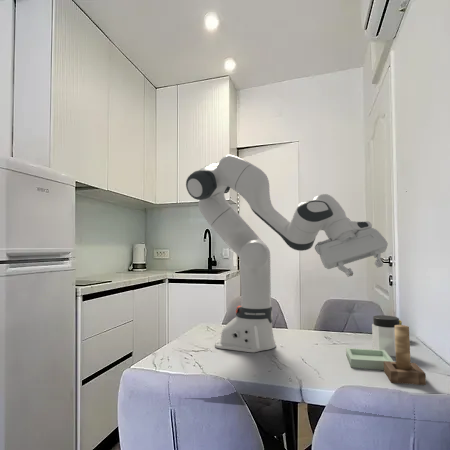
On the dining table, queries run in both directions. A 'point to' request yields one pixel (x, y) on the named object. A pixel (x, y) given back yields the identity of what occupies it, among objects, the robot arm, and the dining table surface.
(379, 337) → the jar
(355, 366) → the tray
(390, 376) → the socket block
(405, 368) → the dowel
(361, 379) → the dining table surface
